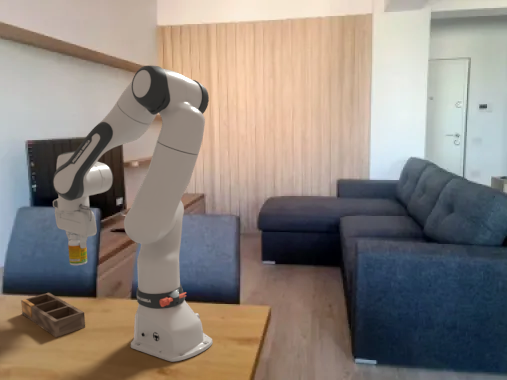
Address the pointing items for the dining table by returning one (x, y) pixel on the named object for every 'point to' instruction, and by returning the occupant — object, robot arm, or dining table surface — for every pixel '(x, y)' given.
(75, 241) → the supplement bottle
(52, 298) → the box
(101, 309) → the dining table surface
